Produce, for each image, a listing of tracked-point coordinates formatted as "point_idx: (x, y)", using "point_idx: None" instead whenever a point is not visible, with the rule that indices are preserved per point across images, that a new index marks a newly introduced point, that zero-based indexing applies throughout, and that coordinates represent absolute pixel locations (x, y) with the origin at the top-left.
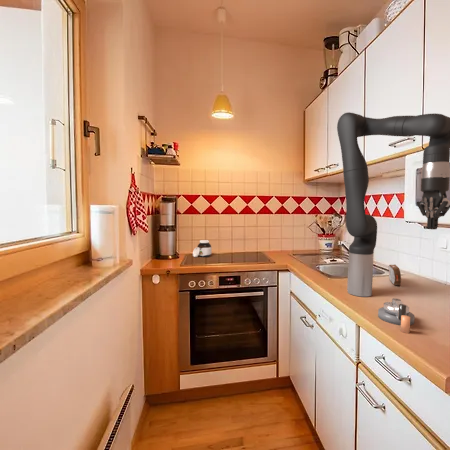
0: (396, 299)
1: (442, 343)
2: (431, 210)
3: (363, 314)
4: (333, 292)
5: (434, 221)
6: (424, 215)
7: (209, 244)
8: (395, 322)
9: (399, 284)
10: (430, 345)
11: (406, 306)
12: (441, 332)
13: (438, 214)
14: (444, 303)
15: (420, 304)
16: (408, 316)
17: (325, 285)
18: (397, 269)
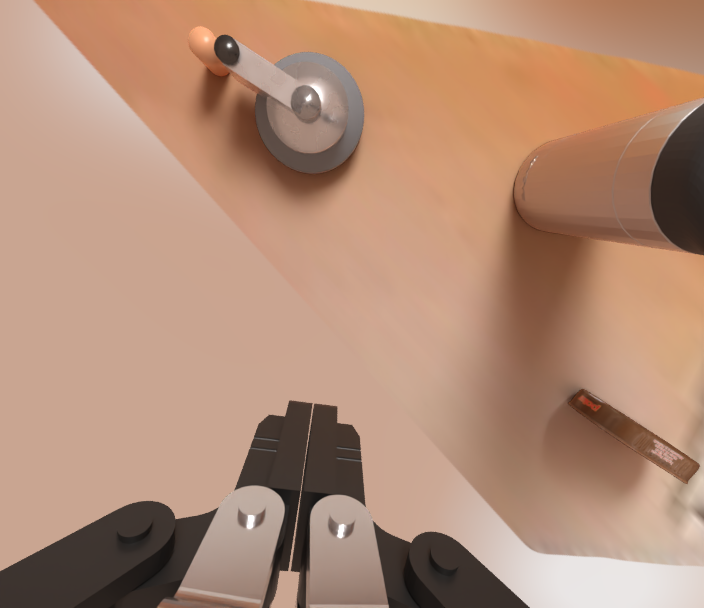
0: (306, 102)
1: (140, 109)
2: (194, 605)
3: (366, 27)
4: (607, 80)
5: (243, 471)
6: (417, 538)
7: None
8: None
9: (570, 401)
10: (130, 59)
11: (293, 141)
12: (204, 176)
13: (84, 537)
14: (390, 392)
15: (400, 313)
16: (202, 54)
17: None
18: (623, 433)
